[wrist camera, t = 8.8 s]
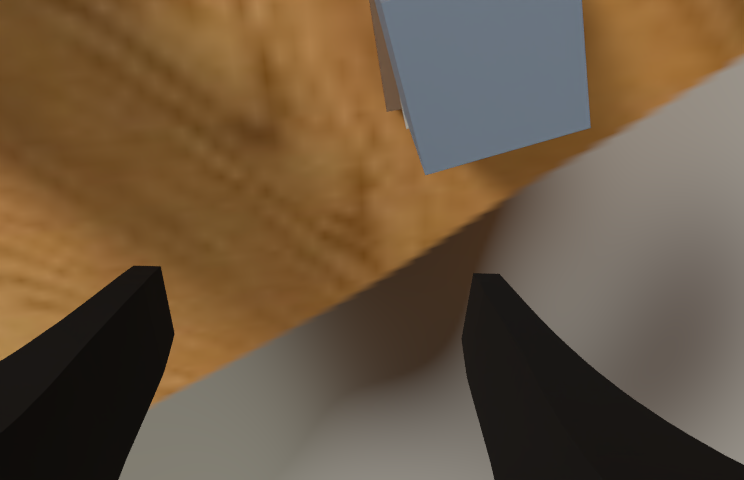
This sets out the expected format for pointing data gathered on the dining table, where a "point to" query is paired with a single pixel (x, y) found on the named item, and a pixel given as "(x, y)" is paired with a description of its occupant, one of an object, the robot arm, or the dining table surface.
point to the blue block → (486, 74)
